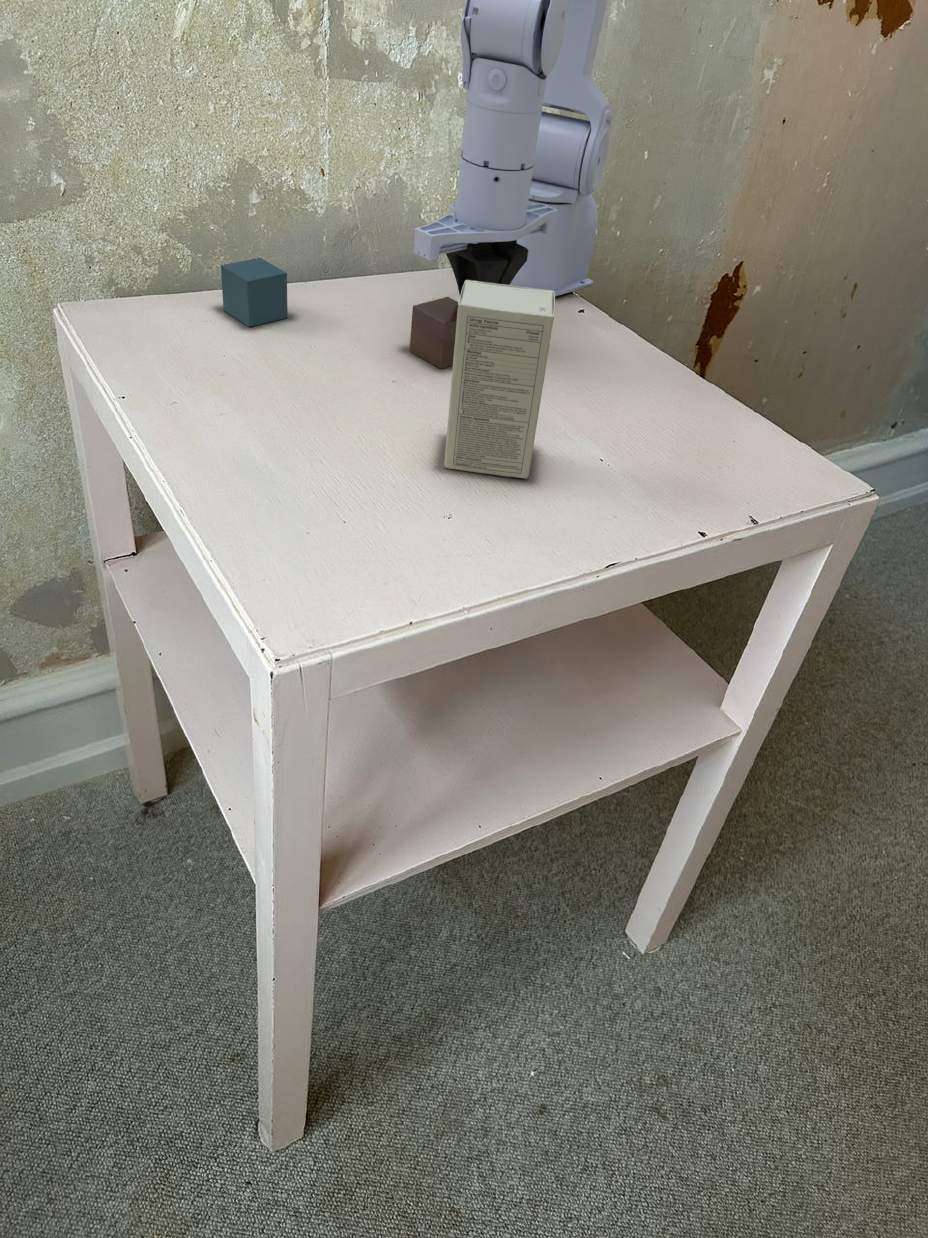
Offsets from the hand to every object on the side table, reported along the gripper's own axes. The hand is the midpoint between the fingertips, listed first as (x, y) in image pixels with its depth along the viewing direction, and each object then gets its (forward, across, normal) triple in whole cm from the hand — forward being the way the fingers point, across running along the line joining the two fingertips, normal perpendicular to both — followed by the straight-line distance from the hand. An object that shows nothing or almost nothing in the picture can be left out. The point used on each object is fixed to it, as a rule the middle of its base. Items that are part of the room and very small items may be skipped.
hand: (476, 327), depth 82 cm
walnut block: (+2, +4, 0) cm, 4 cm away
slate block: (+2, +13, -14) cm, 19 cm away
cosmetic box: (+2, +13, +14) cm, 19 cm away
